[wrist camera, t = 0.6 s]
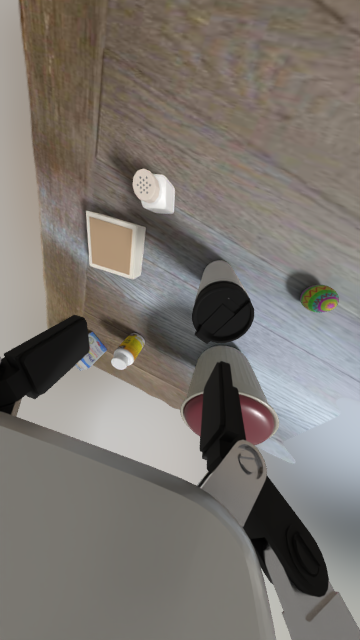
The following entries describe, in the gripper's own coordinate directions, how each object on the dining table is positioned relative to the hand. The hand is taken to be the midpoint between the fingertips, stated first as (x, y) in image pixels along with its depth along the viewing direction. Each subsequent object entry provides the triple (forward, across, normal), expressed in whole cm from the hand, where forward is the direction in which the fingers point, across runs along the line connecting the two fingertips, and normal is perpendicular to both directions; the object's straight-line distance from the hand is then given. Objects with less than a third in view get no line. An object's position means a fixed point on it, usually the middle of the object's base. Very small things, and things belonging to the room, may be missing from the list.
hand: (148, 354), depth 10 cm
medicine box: (+26, +26, +30) cm, 48 cm away
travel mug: (+26, -5, -1) cm, 27 cm away
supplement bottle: (+26, +12, +24) cm, 37 cm away
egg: (+26, -24, -2) cm, 36 cm away
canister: (+26, -15, +21) cm, 37 cm away
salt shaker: (+26, +9, -11) cm, 30 cm away
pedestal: (+26, +17, -2) cm, 31 cm away
